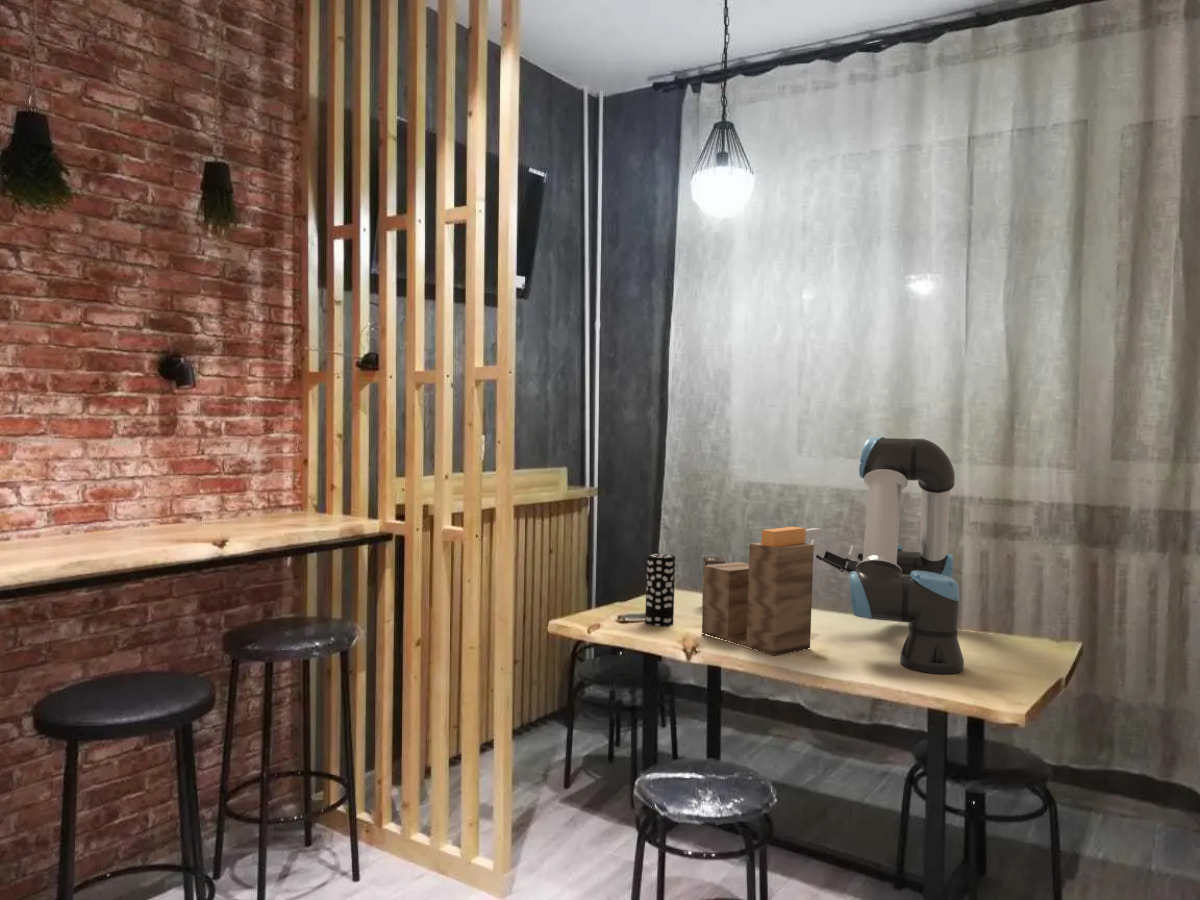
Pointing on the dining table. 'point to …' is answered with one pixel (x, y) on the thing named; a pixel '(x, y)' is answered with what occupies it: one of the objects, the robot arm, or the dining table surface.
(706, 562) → the coffee box
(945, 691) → the dining table surface
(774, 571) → the stepped wooden block
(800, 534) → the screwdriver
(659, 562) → the white-spotted black cylinder
